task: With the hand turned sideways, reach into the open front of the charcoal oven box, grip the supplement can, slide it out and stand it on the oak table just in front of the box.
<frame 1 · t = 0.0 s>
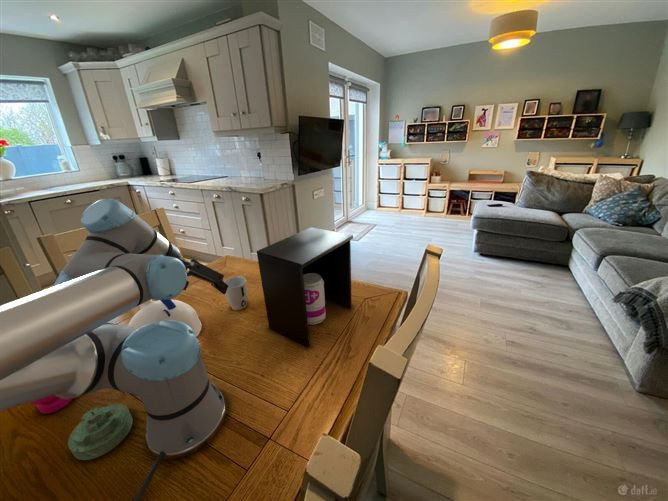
hand: (205, 288, 82), 15 cm above the table, tool tilted 35°, fingers open, 13 cm apart
oven box: (313, 317, 92), on the table
pepper mill: (58, 402, 66), on the table
supplement can: (313, 318, 92), on the table
cup: (239, 306, 100), on the table
kettle: (166, 336, 86), on the table
decorative artifact: (104, 435, 58), on the table
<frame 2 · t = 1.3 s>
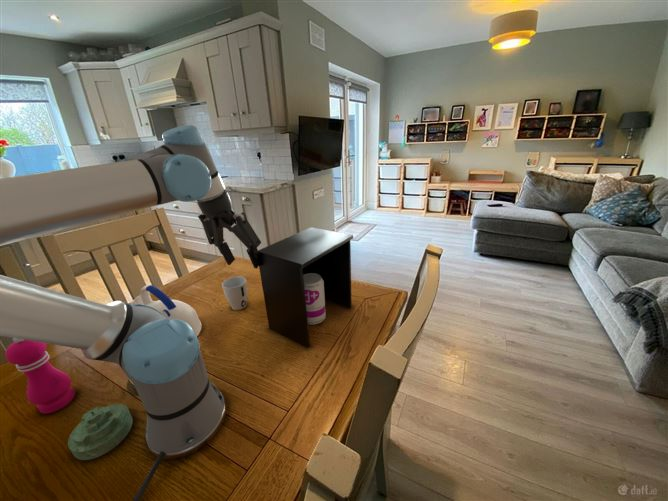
hand: (244, 263, 81), 22 cm above the table, tool tilted 15°, fingers open, 9 cm apart
nothing on the table moved.
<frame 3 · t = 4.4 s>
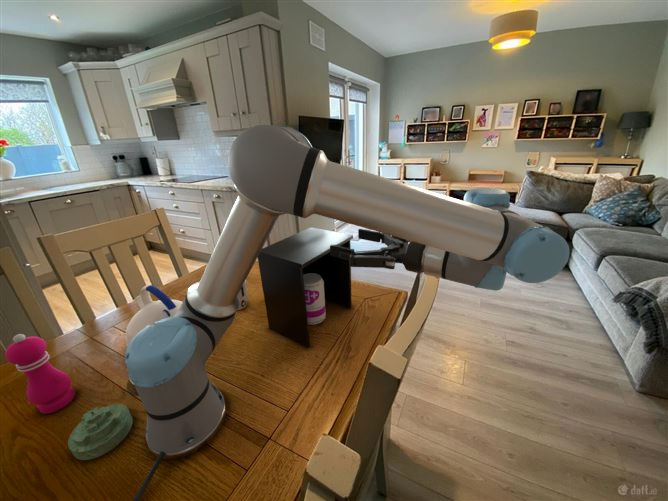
hand: (345, 241, 73), 30 cm above the table, tool horizontal, fingers open, 13 cm apart
nothing on the table moved.
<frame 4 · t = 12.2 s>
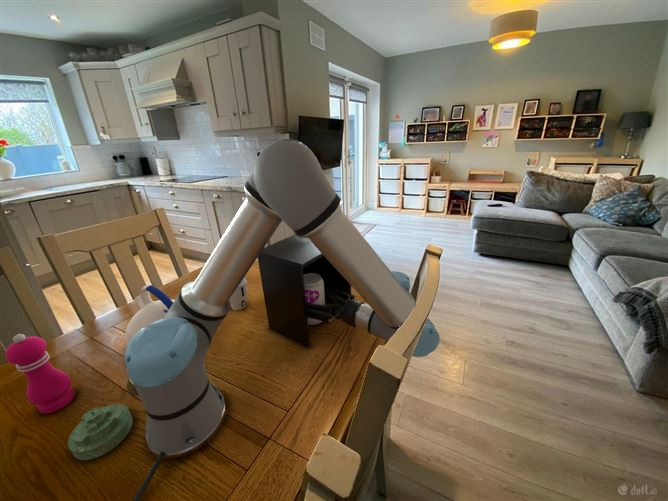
hand: (301, 293, 91), 8 cm above the table, tool horizontal, fingers closed on supplement can, 8 cm apart
supplement can: (313, 318, 92), on the table, touching gripper
everything else where it was.
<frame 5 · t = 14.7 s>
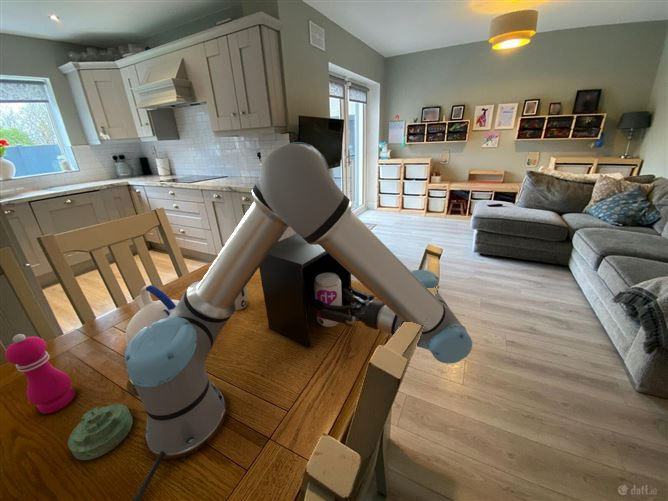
hand: (316, 293, 87), 10 cm above the table, tool horizontal, fingers closed on supplement can, 8 cm apart
supplement can: (329, 320, 87), point 2 cm above the table, touching gripper
everything else where it was.
when the fingers open (8 cm above the table, at t = 17.5 s): supplement can stays where it is, on the table.
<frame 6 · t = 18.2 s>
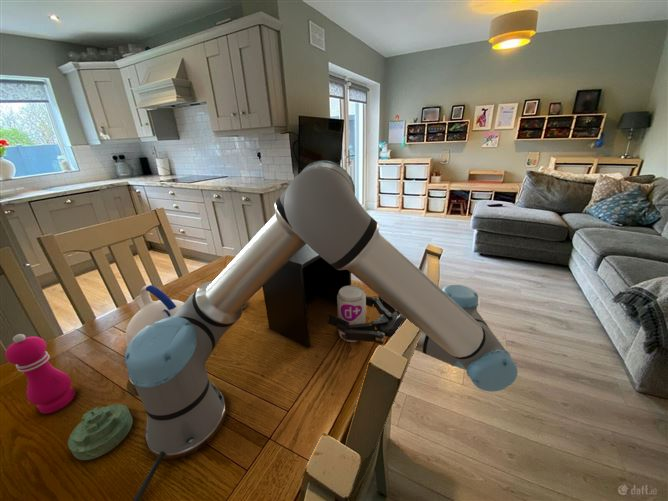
hand: (342, 307, 82), 9 cm above the table, tool horizontal, fingers open, 13 cm apart
supplement can: (352, 334, 84), on the table
everything else where it was.
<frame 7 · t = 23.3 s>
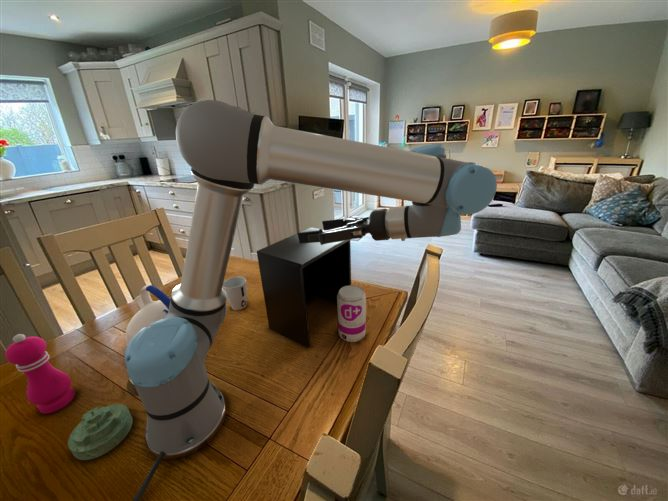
hand: (312, 231, 75), 32 cm above the table, tool horizontal, fingers open, 13 cm apart
nothing on the table moved.
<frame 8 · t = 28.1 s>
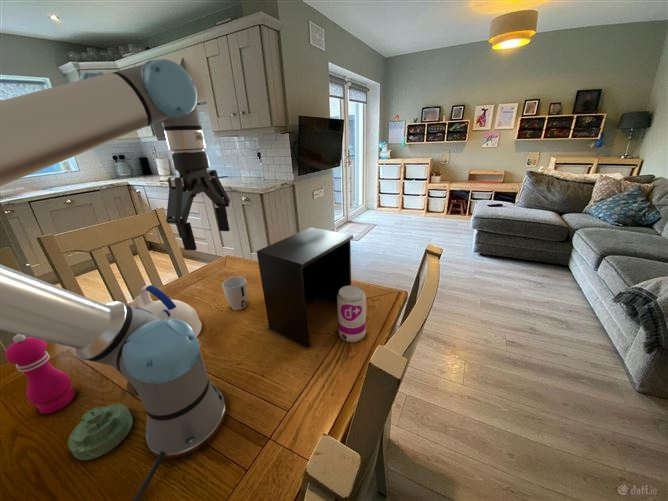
hand: (209, 239, 70), 33 cm above the table, tool pointing down, fingers open, 13 cm apart
nothing on the table moved.
at the end: supplement can inside the target area (0.1 cm from its centre), on the table; supplement can tilted 0°; the gripper is holding nothing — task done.
